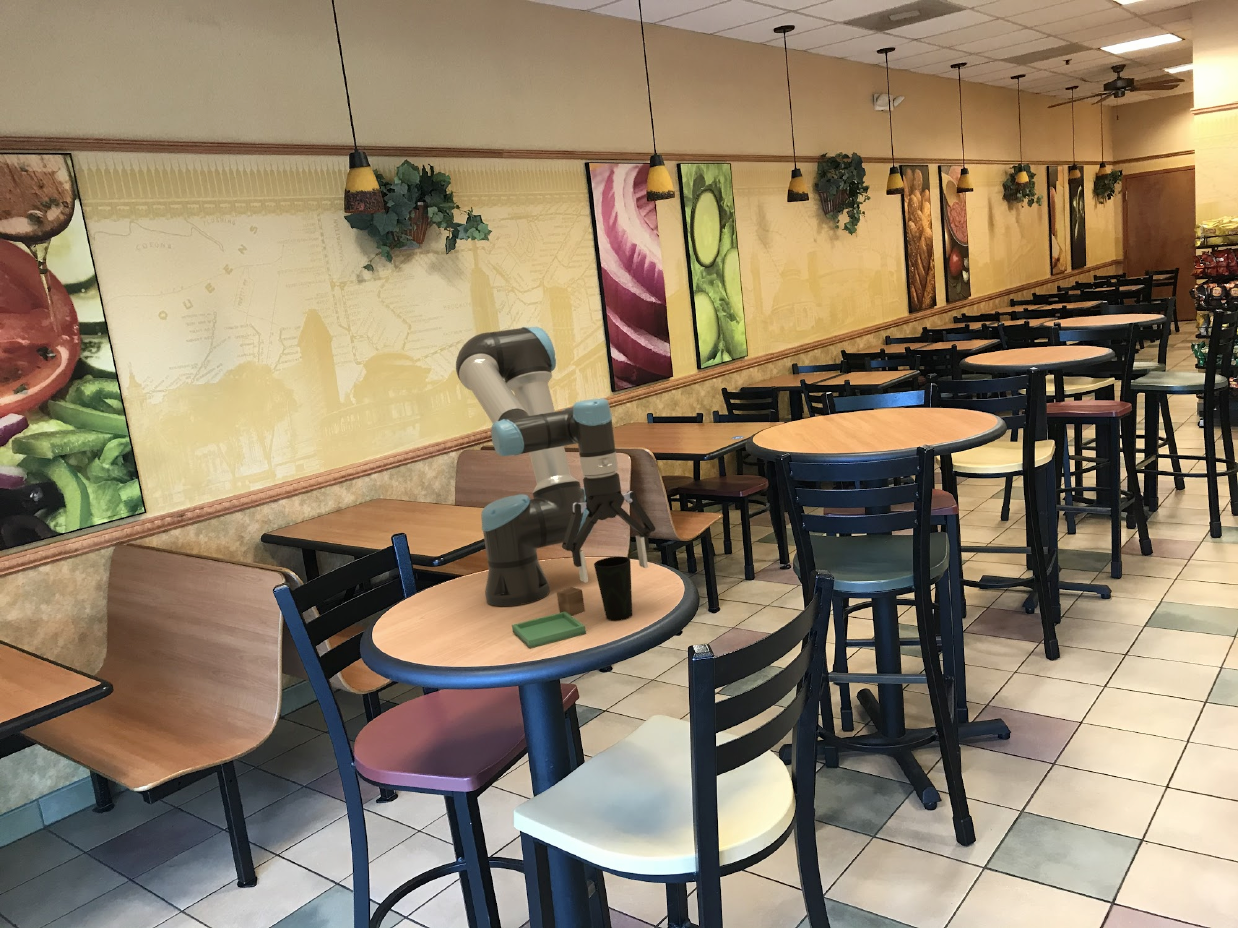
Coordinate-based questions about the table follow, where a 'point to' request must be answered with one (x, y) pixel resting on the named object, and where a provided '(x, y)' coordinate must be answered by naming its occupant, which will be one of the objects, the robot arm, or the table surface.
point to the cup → (615, 587)
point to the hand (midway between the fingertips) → (614, 573)
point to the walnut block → (571, 601)
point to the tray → (548, 629)
